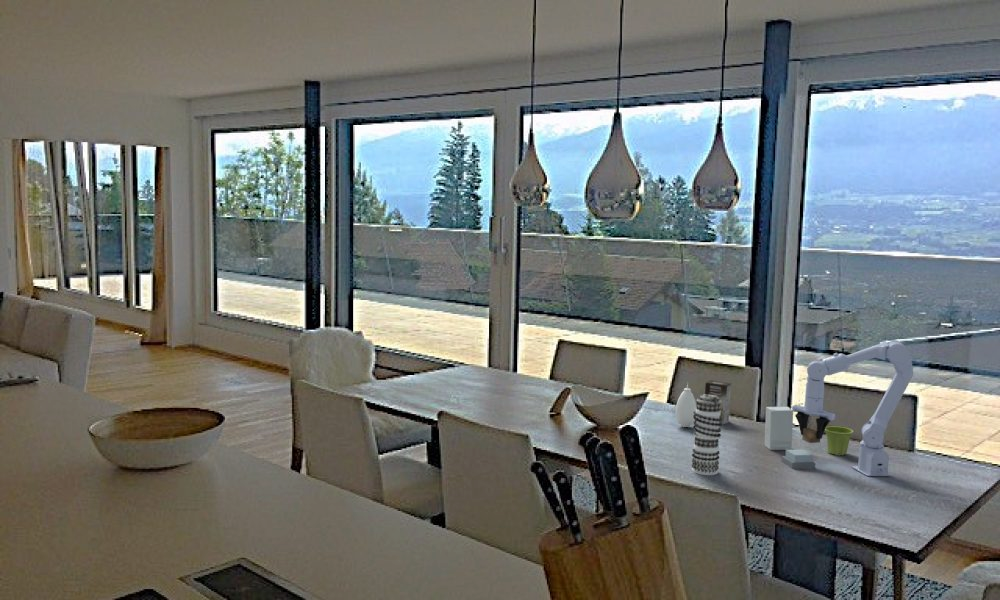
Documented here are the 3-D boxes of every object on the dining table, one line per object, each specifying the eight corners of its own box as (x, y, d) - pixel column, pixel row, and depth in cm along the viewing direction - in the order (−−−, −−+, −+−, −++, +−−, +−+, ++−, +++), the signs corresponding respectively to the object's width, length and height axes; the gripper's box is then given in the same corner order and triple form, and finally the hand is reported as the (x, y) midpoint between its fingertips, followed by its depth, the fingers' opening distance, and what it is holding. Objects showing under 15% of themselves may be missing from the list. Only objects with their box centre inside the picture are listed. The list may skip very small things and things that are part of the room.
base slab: (814, 470, 281) (815, 462, 281) (791, 470, 280) (792, 462, 280) (803, 463, 289) (804, 455, 289) (781, 463, 288) (781, 456, 288)
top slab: (812, 462, 281) (813, 454, 281) (794, 462, 280) (795, 455, 280) (803, 456, 288) (803, 449, 287) (785, 456, 287) (785, 449, 287)
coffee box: (702, 421, 342) (704, 382, 340) (707, 418, 347) (709, 379, 346) (724, 424, 337) (726, 385, 335) (729, 421, 342) (731, 382, 341)
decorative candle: (684, 468, 277) (688, 393, 274) (707, 465, 280) (711, 392, 278) (701, 476, 268) (705, 399, 266) (725, 473, 272) (729, 397, 269)
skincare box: (785, 446, 308) (788, 406, 306) (792, 450, 302) (794, 410, 300) (763, 445, 307) (765, 405, 306) (768, 450, 301) (771, 409, 300)
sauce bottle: (699, 428, 330) (702, 383, 328) (685, 430, 326) (688, 384, 324) (684, 423, 337) (687, 379, 335) (670, 426, 332) (673, 381, 330)
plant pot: (853, 458, 294) (855, 434, 294) (825, 455, 296) (827, 431, 295) (848, 451, 304) (850, 427, 303) (820, 448, 305) (822, 425, 305)
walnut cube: (819, 442, 284) (820, 430, 283) (809, 442, 282) (811, 431, 282) (812, 439, 287) (813, 427, 287) (802, 439, 286) (803, 428, 286)
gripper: (840, 399, 280) (837, 439, 282) (801, 391, 291) (798, 430, 293) (829, 402, 276) (826, 442, 277) (789, 394, 287) (787, 433, 288)
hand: (811, 436), depth 285 cm, fingers closed on walnut cube, 5 cm apart
